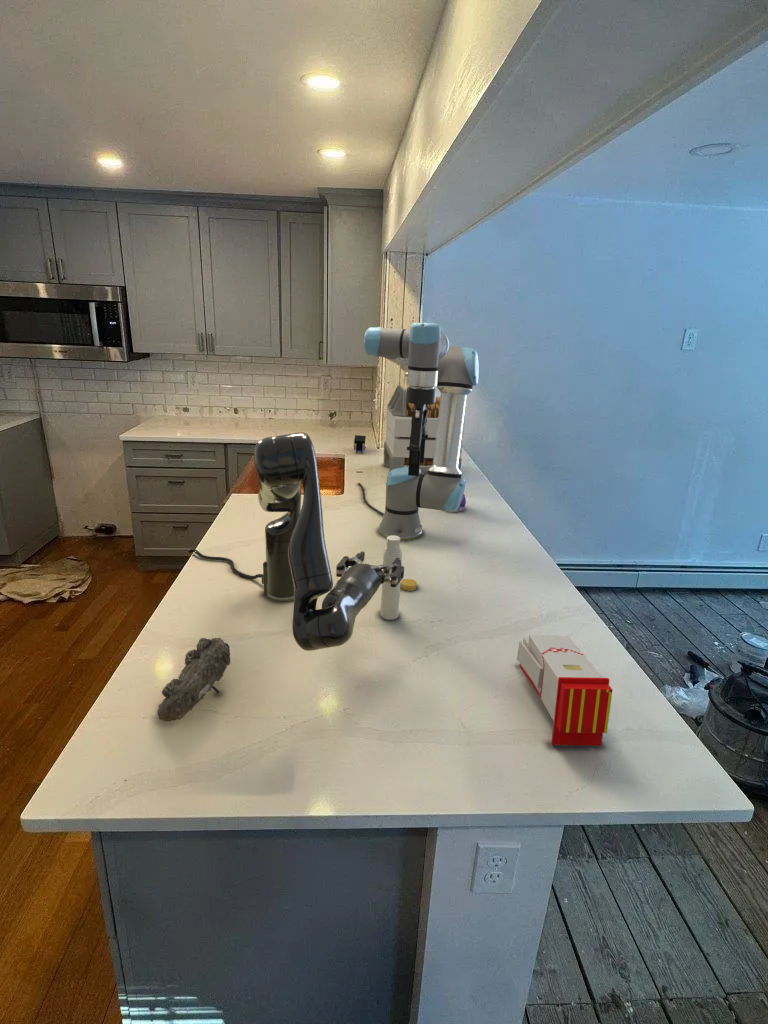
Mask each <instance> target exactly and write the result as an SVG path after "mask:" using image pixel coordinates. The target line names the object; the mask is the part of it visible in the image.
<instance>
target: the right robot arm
mask: <svg viewBox="0 0 768 1024" xmlns="http://www.w3.org/2000/svg"><path fill="white" fill-rule="evenodd" d="M363 337H364V338H363V349H364V352H365V354H366V355H367V356H370V357H375V358H379V357H380V358H384V359H386V360H388V361H390V362H392V363H393V364H396V365H398V366H399V368H400V369H401V370H402V371H403V372H404V373H405V374H404V376H405V377H407V379H406V380H407V381H406V385H407V386H408V387H407V388H406V389H405V390H406V401H407V402H408V403H411V404H415V409H413V411H412V413H411V416H412V421H411V435H410V444H409V447H407V450H409V466H404V467H401V468H396V469H393V470H391V471H390V470H389V472H388V473H387V475H386V482H385V504H384V505H385V507H384V508H385V509H384V512H382V511H380V510H379V509H377V508H375V507H374V506H372V505H371V504H370V503H369V502H368V501H367V499H366V493H365V488H364V486H363V485H362V484H361V483H360V482H357V484H358V485H359V487H360V488H361V490H362V500H363V501H364V503H365V504H366V506H368V507H369V508H371V509H372V510H373V511H375V512H376V513H378V514H380V515H381V516H382V519H381V522H379V526H378V533H379V534H380V535H381V536H382V537H385V538H387V537H388V536H391V535H395V536H398V537H400V541H410V540H415V539H418V538H420V537H421V536H422V535H423V525H422V524H421V518H420V515H419V508H420V509H426V510H434V511H442V513H443V512H448V513H449V512H450V513H455V512H454V511H456V510H457V509H458V508H459V506H460V503H461V500H462V497H463V493H464V494H465V489H466V479H465V478H462V477H463V476H462V475H463V473H462V470H461V471H460V470H459V468H458V464H459V456H460V448H461V440H462V439H463V438H462V431H463V423H464V424H465V421H464V420H465V413H466V406H467V396H468V395H469V394H470V393H471V392H473V386H474V387H475V386H477V385H478V384H479V376H480V373H479V372H480V369H479V368H480V367H479V356H478V352H477V350H476V349H475V348H471V347H466V346H450V340H449V338H448V336H447V334H446V333H445V332H443V331H441V325H440V324H439V323H436V322H435V323H433V322H413V323H411V324H410V327H409V328H393V327H381V326H377V327H375V326H373V327H372V326H370V327H368V328H367V329H366V331H365V333H364V335H363ZM436 388H437V390H438V391H439V392H440V396H439V397H440V406H439V415H438V423H437V432H436V441H435V450H434V458H433V465H430V466H429V468H427V472H426V473H422V469H421V468H420V467H421V466H420V463H424V453H425V439H423V438H427V439H428V435H427V434H426V433H427V432H426V423H427V416H428V410H427V405H431V404H434V403H435V401H436V397H437V390H436Z"/></svg>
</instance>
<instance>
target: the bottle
mask: <svg viewBox="0 0 768 1024" xmlns="http://www.w3.org/2000/svg"><path fill="white" fill-rule="evenodd" d="M382 555H383V556H382V564H387V565H390V564H392V563H393V562H394V560H395V559H396V558H400V560H401V565H402V563H403V561H402V560H403V552H402V548H401V540H400V537H398V536H395V535H391V536H388V537H386V545H385V547H384V550H383V554H382ZM382 571H384V569H382ZM389 572H392V569H390V570H389ZM400 592H401V582H400V583H399V584H398V585H397V586H396V587H391V583H387V582H384V583H383V584H381V595H380V596H381V597H380V617H381V618H382V619H384V620H387V621H388V620H389V621H393V620H395V619H398V618H399V615H400V614H399V611H400V597H401V593H400Z"/></svg>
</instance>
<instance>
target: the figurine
mask: <svg viewBox="0 0 768 1024" xmlns="http://www.w3.org/2000/svg"><path fill="white" fill-rule="evenodd" d="M466 503H467V500H466V496H465V492H464V493H463V497H462V500H461V503H460V506H459V508H458V509H457V510H456V511H454V512H453V513H457V512H463V511H464V510H465V507H466Z"/></svg>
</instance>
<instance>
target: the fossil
mask: <svg viewBox="0 0 768 1024" xmlns="http://www.w3.org/2000/svg"><path fill="white" fill-rule="evenodd" d="M230 648H231V647H230V645H229V644H228V642H225V641H224V640H223V639H222V638H221V637H214V638H211V639H210V638H206V637H201V638H200V639H199V640H198V642H197V644H196V649H194V648H193V649H191V650H189V651H187V653H186V654H185V658H184V661H185V662H184V664H185V666H184V667H183V669H182V670H181V672H180V674H179V676H178V678H173V679H171V680H170V682H167V683H166V685H165V686H163V689H162V690H161V694H162V695H163V696H164V698H163V700H162V702H161V703H159V704H158V709H157V719H158V720H162V721H163V722H165V723H167V722H172V721H173V722H175V721H180V720H182V719H183V718H184V717H185V716H186V715H187V714H188V713H189V712H191V711H192V710H193V709H194V708H195V707H196V706H197V705H198V704H199V703H200V702H201V701H202V700H204V699H205V697H206V695H207V693H208V692H210V691H211V690H214V692H216V694H219V693H220V690H219V689H218V688H217V687H216V686H215V684H216V682H219V681H220V680H221V679H222V678H223V676H224V673H225V671H226V670H227V668H228V667H229V665H231V649H230Z"/></svg>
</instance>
